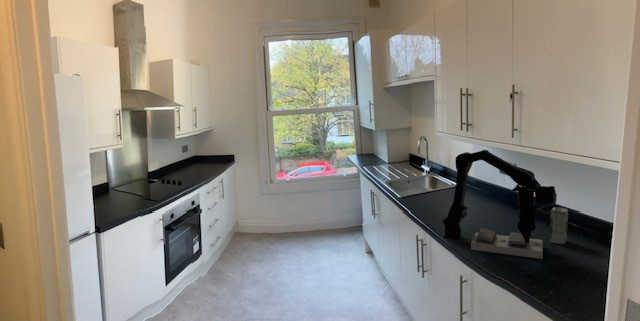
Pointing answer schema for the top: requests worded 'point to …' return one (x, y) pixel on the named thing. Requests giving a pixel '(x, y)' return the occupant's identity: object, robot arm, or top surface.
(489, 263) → the top surface
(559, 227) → the syrup box
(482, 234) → the dark grey rectangular block
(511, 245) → the double rocker switch panel
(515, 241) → the right rocker
